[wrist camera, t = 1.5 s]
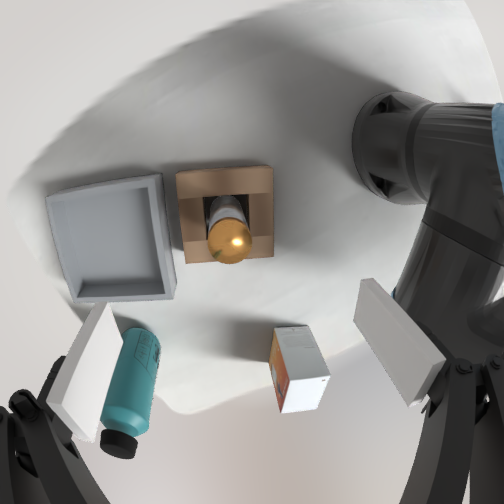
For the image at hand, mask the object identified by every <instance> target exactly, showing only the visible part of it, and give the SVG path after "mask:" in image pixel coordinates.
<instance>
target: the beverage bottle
mask: <svg viewBox="0 0 504 504" xmlns="http://www.w3.org/2000/svg"><path fill="white" fill-rule="evenodd" d="M121 338H122V340H123V345H122V347H121V350H120V353H119V356H118V359H117V362H116V365H115V368H114V372H113V375H112V378H111V381H110V385H109V388H108V391H107V395H106V398H105V402H104V405H103V409H102V413H101V416H100V421H101V422H102V424H103V425H104V426H105V427H106V428H107V429H105V430H103V431H102V432H101V441H100V448H101V449H102V450H103V451H104V452H106V453H108V454H109V455H112V456H114V457H117V458H121V459H132V458H134V456H135V453H136V449H137V444H138V442H137V440H136V439H135V438H134V437H136V436H139V435H141V434H143V433H145V432H146V431H147V430H148V429H149V417H150V410H151V403H152V399H153V398H152V397H153V392H155V391H154V385H155V380H156V378H157V377H156V373H157V369H158V365H159V362H158V360H160V359H159V355H160V343H159V341H158V339H157V337H156V336H155V335H154V334H152V333H151V332H149V331H147V330H145V329H142V328H130V329H128V330H126V331H125V332H123V334H122V335H121Z"/></svg>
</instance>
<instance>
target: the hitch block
mask: <svg viewBox="0 0 504 504" xmlns="http://www.w3.org/2000/svg"><path fill="white" fill-rule="evenodd" d="M175 177H176V188H177V198H178V207H179V216H180V225H181V233H182V240H183V248H184V255H185V262H186V264H188V263H202V262H214V261H217V260H216V259H215V258H213V256H212V255H211V254H210V252H209V249H208V232H209V231H207V225H206V213H205V201H204V197H209V196H222V195H237V194H246V206H247V225H248V228H249V231H250V234H251V237H252V248H251V251H250V253H249V254H248V256H247V257H246V258H245V259H252V258H265V257H274V206H273V168H272V167H270V166H268V165H264V166H241V167H224V168H210V169H198V170H187V171H179V172H178V173H177V174H176V175H175Z"/></svg>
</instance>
